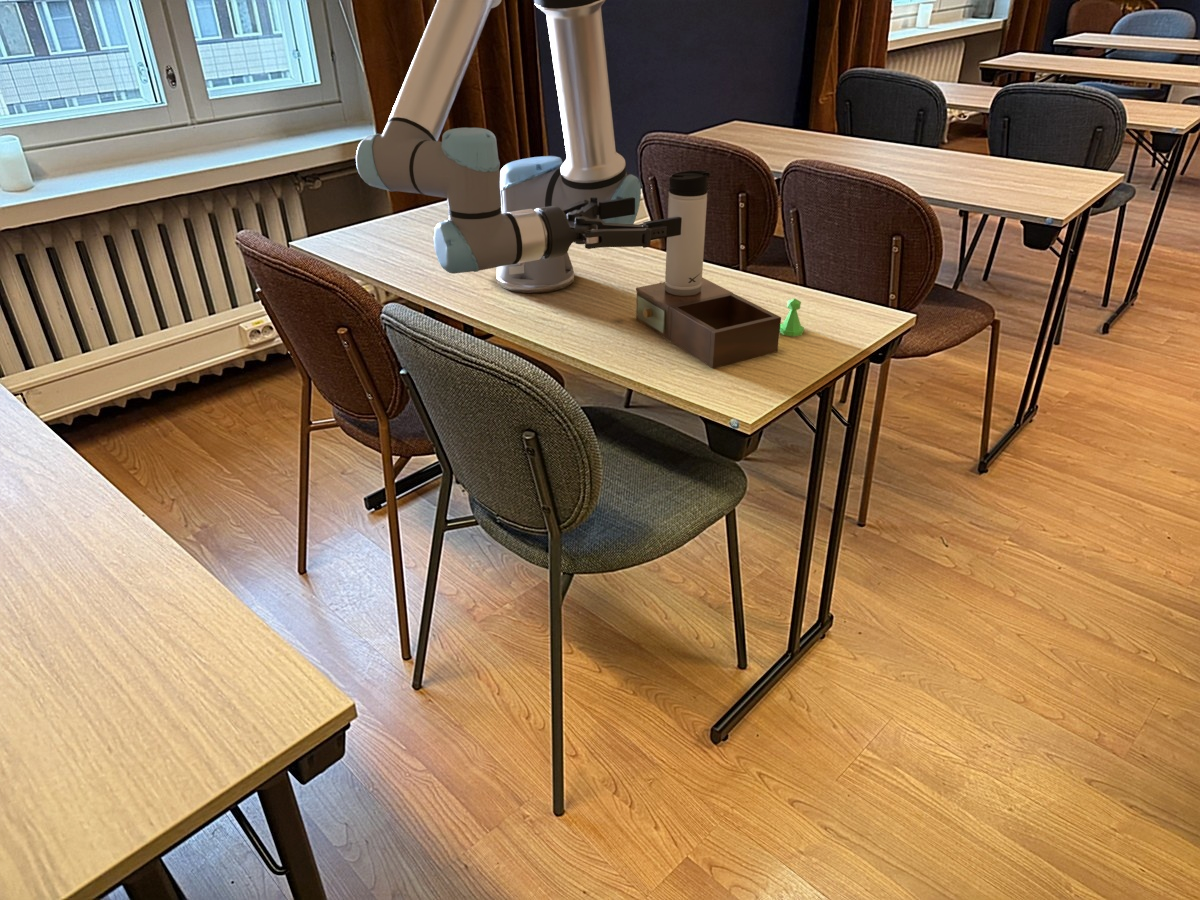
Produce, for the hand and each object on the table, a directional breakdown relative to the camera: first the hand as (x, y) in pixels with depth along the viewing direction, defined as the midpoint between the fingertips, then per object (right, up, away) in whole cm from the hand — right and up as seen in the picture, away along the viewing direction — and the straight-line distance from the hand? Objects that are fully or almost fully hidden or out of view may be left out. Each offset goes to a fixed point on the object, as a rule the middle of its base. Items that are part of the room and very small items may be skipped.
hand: (656, 215), depth 137 cm
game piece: (+24, -18, +9) cm, 31 cm away
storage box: (+9, -19, +7) cm, 22 cm away
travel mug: (+5, -11, +9) cm, 15 cm away
